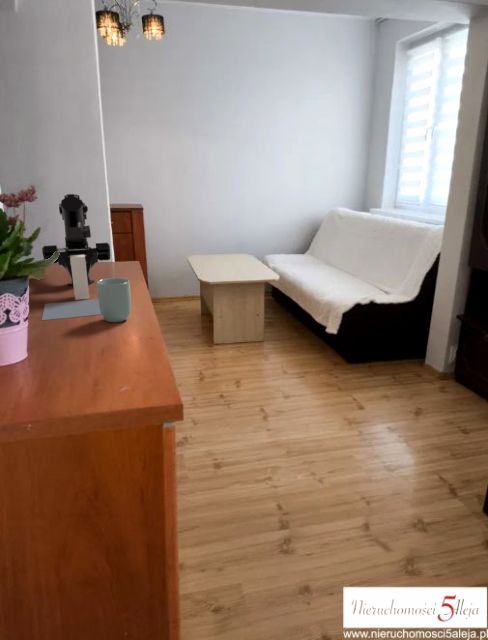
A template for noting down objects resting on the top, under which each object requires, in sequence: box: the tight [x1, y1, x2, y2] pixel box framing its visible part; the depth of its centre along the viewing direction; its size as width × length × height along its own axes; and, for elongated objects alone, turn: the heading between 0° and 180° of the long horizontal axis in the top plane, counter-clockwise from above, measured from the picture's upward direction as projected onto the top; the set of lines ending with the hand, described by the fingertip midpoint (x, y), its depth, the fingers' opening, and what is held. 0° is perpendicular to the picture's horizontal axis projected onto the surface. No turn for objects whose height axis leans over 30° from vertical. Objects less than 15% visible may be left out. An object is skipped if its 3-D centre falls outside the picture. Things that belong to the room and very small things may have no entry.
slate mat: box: [40, 298, 102, 322], centre depth 125 cm, size 16×20×1 cm
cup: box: [96, 277, 132, 323], centre depth 113 cm, size 8×8×10 cm
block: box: [70, 255, 91, 301], centre depth 134 cm, size 4×4×12 cm
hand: (79, 276), depth 133 cm, fingers closed on block, 4 cm apart
